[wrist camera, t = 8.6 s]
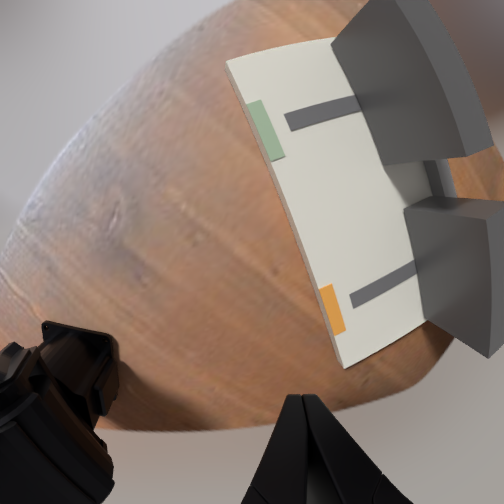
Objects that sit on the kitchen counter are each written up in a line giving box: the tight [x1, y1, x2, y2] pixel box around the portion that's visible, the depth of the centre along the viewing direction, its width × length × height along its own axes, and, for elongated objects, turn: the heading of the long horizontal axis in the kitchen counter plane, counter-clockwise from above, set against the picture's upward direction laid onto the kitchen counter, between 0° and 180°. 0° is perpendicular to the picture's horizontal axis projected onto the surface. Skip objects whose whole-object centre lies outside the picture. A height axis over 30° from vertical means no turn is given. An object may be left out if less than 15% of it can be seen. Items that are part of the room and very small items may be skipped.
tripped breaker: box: [403, 196, 504, 358], centre depth 16 cm, size 3×10×8 cm, turn 23°
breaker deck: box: [225, 37, 457, 369], centre depth 19 cm, size 13×24×3 cm, turn 23°
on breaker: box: [330, 0, 494, 166], centre depth 13 cm, size 3×10×8 cm, turn 23°
